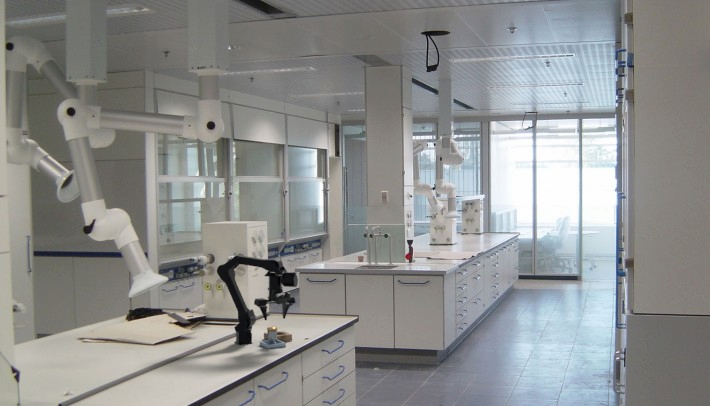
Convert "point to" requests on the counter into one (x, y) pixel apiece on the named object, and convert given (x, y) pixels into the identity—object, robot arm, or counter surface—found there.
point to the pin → (272, 335)
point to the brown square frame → (281, 336)
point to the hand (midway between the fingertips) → (274, 319)
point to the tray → (271, 346)
